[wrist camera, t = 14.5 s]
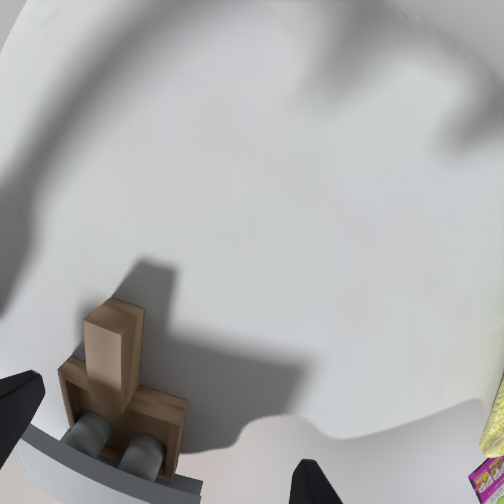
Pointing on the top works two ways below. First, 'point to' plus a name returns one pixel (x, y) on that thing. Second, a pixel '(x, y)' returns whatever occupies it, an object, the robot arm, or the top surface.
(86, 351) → the walnut tray
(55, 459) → the grey piece
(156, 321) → the top surface
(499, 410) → the lettuce
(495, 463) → the candy bar box
